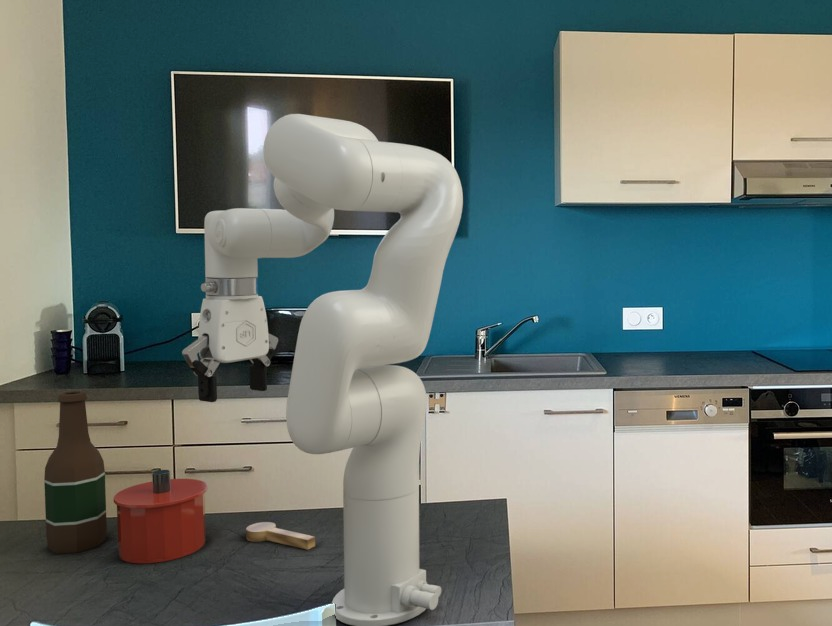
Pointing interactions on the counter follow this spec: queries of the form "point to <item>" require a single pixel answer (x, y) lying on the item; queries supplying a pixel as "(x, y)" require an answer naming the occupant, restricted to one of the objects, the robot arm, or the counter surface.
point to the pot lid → (160, 492)
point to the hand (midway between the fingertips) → (234, 395)
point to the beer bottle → (74, 483)
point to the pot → (161, 531)
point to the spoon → (278, 535)
